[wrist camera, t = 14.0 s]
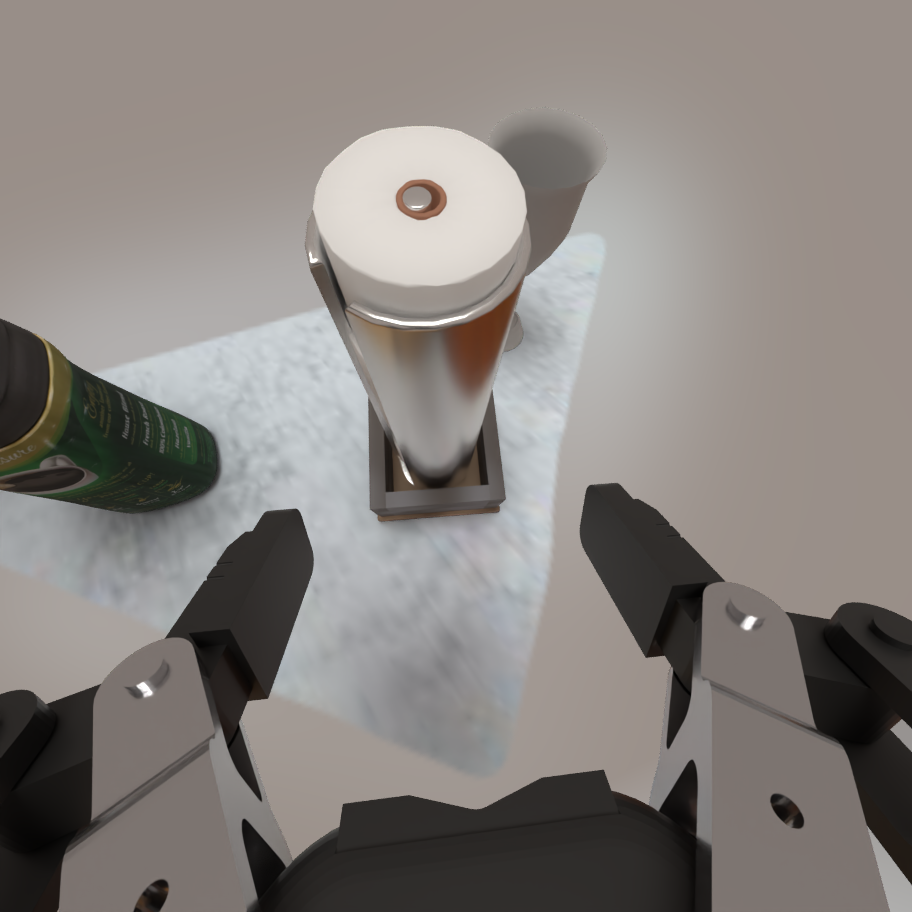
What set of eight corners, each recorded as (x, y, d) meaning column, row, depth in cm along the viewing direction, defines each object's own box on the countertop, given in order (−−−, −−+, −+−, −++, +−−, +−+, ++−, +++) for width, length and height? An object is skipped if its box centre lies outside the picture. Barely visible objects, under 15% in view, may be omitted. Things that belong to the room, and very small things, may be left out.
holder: (379, 521, 32) (366, 513, 26) (377, 410, 35) (364, 382, 29) (498, 512, 33) (509, 502, 27) (485, 404, 36) (494, 374, 30)
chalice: (519, 298, 40) (579, 99, 22) (542, 348, 38) (626, 174, 21) (458, 314, 39) (471, 119, 22) (479, 366, 37) (511, 200, 20)
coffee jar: (215, 416, 34) (-27, 264, 17) (227, 492, 32) (-35, 412, 15) (110, 444, 33) (-272, 313, 15) (115, 524, 31) (-317, 481, 13)
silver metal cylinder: (397, 431, 34) (284, 117, 10) (464, 422, 34) (514, 103, 10) (405, 498, 32) (291, 316, 8) (475, 487, 32) (568, 287, 8)
